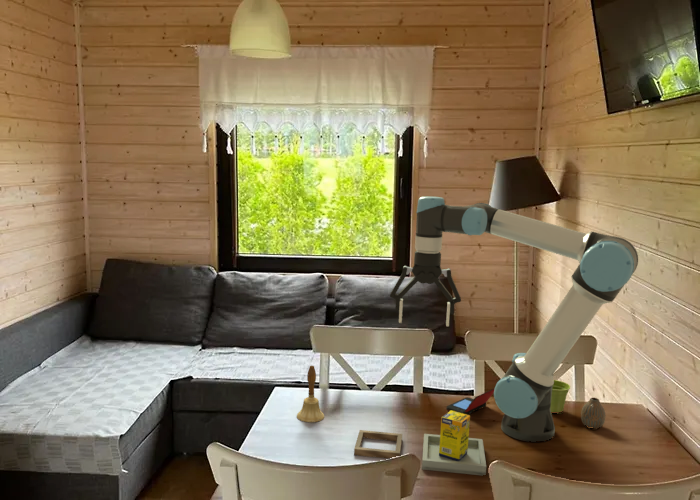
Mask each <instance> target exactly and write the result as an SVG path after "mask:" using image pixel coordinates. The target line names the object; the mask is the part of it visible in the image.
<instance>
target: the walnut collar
mask: <svg viewBox="0 0 700 500" xmlns="http://www.w3.org/2000/svg"><path fill="white" fill-rule="evenodd" d="M364 439H367V440H369V439H371V440H378V441H379V440H380V441H387V442H388V441H389V442H396V444H395V445H396V446H395V450H391V449H382V448H381V449H380V448H369V447H363V446H362V444H363V440H364ZM402 443H403V433H399V432H398V433H395V432H385V431H384V432H383V431H376V430H374V431H373V430H367V429H366V430H365V429H359V432H358V435H357V438H356V442H355V445H354V449H353V450H354V451H353V456H357V455H358V456H357V457H367V458H377V459H388V458H392V457H396V456H401V449H402ZM388 460H389V459H388Z"/></svg>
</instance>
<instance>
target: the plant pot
mask: <svg viewBox="0 0 700 500" xmlns="http://www.w3.org/2000/svg"><path fill="white" fill-rule="evenodd" d="M553 380H554V384H553V385H552V396H551V407H550V410H551V412H561V411H563V412H564V407H565V405H566V404H565V403H566V399H567V394H568V393H569V391H570V389H571V385H570V384H569V383H567V382H564V381H562V380H558V379H553Z"/></svg>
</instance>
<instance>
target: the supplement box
mask: <svg viewBox="0 0 700 500" xmlns="http://www.w3.org/2000/svg"><path fill="white" fill-rule="evenodd" d="M440 419H441V420H440V433H439V435H440V446H439V456H442V457H445V458H448V459H451V460H455V461H458V462H459V461H460V460H461V459H462V458H463V457H464V456H465V455H466V454H467V451H468V439H469V438H470V437H469V436H470V424H471V423H470V422H471V414H468V415H466V414H462V413H459V412H455V411H449V410H448V412H447V413H445V414H444V415H443V416H441V417H440Z"/></svg>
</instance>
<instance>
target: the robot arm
mask: <svg viewBox="0 0 700 500" xmlns="http://www.w3.org/2000/svg"><path fill="white" fill-rule="evenodd" d="M415 213H416V222H415V223H416V225H415V227H416V228H415V229H416V230H415V238H414V239H415V240H414V241H415V243H414V249H415V251H414V259H413V267H410V266H407V265H404V266H403V267H402V272H401V275H400V276H399V278H398V280H397V281H396V283H395V285H394V286H393V289H392V290H391V292H390V294H389V297H390V298H392V299H394V300H395V311H396V312H397V311H398V323H399V324H402V323H403V322H402V321H403V305H404V299H403V297H404V296H405V295H406V294H407V293H408V292H409V291H410V289H412V288H413V287H414V285H416V284H417V283H419V284H429V285H432V284H435V286H437V287H438V289H439V290H440V291H441V292H442V294H443V295H444V297H445V298H446V299H447V300H448V301H447V302H446V303H447V306H446V320H445V326H446V327H450V315H454V313H455V304H457V303H461V302H462V297H461V295H460V293H459V291H458V289H457V287H456V284H455V282H454V279H453V277H452V270H451V268H450V267H449V268H447V269H446V268H445V269H442V267H441V263H442V262H441V261H442V253H441V252H440V251H442V248H443V247H442V245H443V233H450V234H451V233H453V234H462V235H468V236H481V235H483V234H484V233H486V234H490V235H493V236H497V237H500V238H504V239H507V240H510V241H513V242H517V243H519V244H523V245H526V246H530V247H532V248H537V249H538V250H539V249H540V250H543V251H547V252H549V253H553V254H556V255H560V256H563V257H566V258H569V259H572V260H576V261H577V262H578V263H579V264H578V266H577V268H576V269H575V270H574V272H573V274H572V275H571V281H572V285H571V287H570V288H569V290H568V291H567V292H566V295H565V296H564V297H563V299H562V300H561V302H560V304H558V306H557V308H556V309H555V311H554V312H553V314H552V315H551V317H550V318H549V320H547V322H546V324H545V325H544V327H543V328H542V330H541V331H540V332H539V334H538V336H537V337H536V339H535V340H534V342H533V343H532V344H531V346H530V347H529V349H528V350H527V352H518V353H514V354H513V357H512V359H511V362H512V363H511V365H510V366H509V368H508V369H507V370H506V372H505V373H504V375H503V377H502V378H500V379H499V380H498V381H497V382H496V384H495V387H494V388H495V389H494V388H493V389H494V393H493V397H494V401H495V405H496V406H497V407H498V409H499V410H500V411H501V412H502V413H503V416H502V419H501V424H500V425H501V426H500V428H501V430H502V432H503V433H504V434H505V435H507V436H509V437H510V438H513V439H516V440H519V441H525V442H529V441H531V442H530V443H537V442H536V441H544V442H546V441H545V440H548V441H550V440H549V439H551V438H552V437H553V436H554V437H555V431H556V430H555V429H556V428H555V424H554V422H555V421H554V417H553V414H552V413H551V410H550V407H551V396H552V385H553V384H554V380H555V379H554V374H555V372H556V371H557V369H558V368H559V366H560V365H561V364H562V363H563V361H564V360H565V358H566V357H567V355H568V354H569V352H570V351H571V350H572V349H573V347H574V345H575V344H576V343H577V341H578V340H579V339H580V337H581V335H583V333H584V331H585V330H586V329H587V328H588V326H589V324H590V323H591V322H592V320H593V318H595V316H596V315H597V313H598V312H599V310H600V309H601V308H602V306H603V305H604V304H610V303H612V302H613V301H614V300H615V299H616V297H617V296H618V295H619V293H620V292H621V290H622V289H623V288H624V286H625V285H626V284H627V283H628V282H629V280H631V278H632V276H633V274H634V273H635V271H636V270H637V269H638V268H637V267H638V264H639V254H638V251H637V249H636V248H635V245H633V244H632V243H631V242H630V241H629V240H627V239H625V238H622V237H620V236H614V235H608V234H603V233H599V232H595V231H589V232H587V233H586V232H581V231H578V230H575V229H571V228H567V227H563V226H562V225H561V226H560V225H556V224H553V223H549V222H546V221H543V220H539V219H535V218H532V217H528V216H524V215H522V214H517V213H514V212H510V211H506V210H503V209H500V208H499V209H498V208H496V207H493V206H491V205H490V204H488V203H484V202H479V203H478V202H477V203H474V204H471V205H470V204H469V205H464V206H461V205H449V204H446V203H445V198H444V197H442V196H440V197H439V196H427V195H426V196H421V197H419V198H418V200H417V207H416V212H415ZM410 273H412V275H413V276H414V277H412V279H411V280H410V281H409V282H408V283H407V284H406V285H405V286H404V287H403V288H402V289H401V290H400V291H399V292H398V290H399V289H400V287H401V285H402V284H403V282H404V280H405V278H406V275H409V274H410ZM442 274H443V276H444V277H445V278H446V279H447V281H448V284H449V286H450V288H451V290H452V293H453V296H454V297H453V296H452V294H451V293H450V292H449V291H448V289H447V288H446V287H445V285H444V284H443V283H442V282H441V279H440V277H441V275H442ZM397 292H398V293H397ZM554 437H553V438H554ZM553 438H552V439H553ZM552 439H551V440H552Z"/></svg>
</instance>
